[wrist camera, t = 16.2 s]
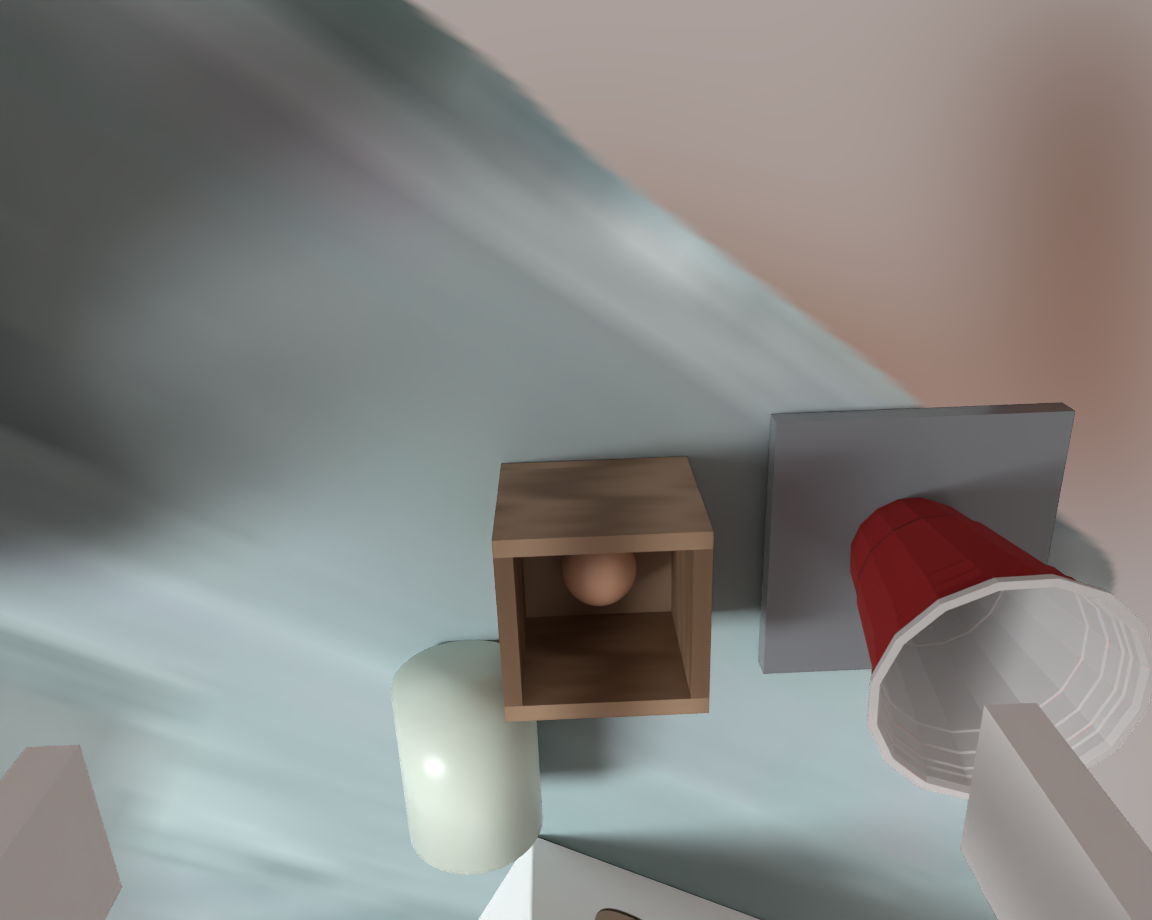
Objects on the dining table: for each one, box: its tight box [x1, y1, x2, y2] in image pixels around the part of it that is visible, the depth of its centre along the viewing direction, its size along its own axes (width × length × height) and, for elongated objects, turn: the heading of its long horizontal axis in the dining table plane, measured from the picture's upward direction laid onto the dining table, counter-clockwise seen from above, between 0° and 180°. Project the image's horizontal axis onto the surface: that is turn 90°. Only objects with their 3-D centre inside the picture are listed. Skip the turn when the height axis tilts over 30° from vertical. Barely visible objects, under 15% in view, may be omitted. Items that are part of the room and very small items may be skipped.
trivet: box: [758, 403, 1075, 674], centre depth 47 cm, size 14×14×1 cm
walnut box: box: [492, 456, 714, 722], centre depth 43 cm, size 9×9×8 cm
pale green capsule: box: [391, 640, 543, 874], centre depth 47 cm, size 9×7×7 cm
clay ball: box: [561, 552, 637, 606], centre depth 44 cm, size 4×4×4 cm
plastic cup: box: [850, 497, 1152, 800], centre depth 41 cm, size 11×11×12 cm
